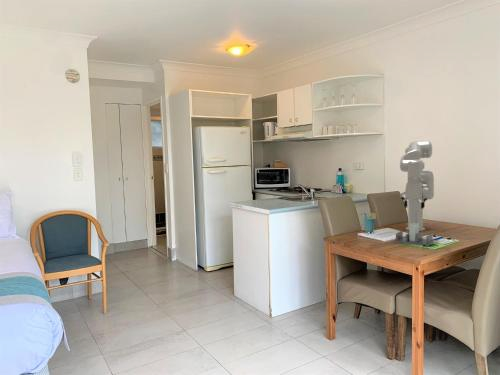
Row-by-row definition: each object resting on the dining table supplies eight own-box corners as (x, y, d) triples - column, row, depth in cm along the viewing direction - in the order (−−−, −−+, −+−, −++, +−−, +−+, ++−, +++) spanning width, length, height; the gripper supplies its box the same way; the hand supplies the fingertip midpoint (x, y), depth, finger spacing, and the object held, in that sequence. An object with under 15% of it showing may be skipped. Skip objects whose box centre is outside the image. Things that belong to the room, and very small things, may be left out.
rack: (400, 238, 254) (400, 230, 254) (433, 241, 242) (433, 233, 241) (394, 242, 244) (394, 233, 243) (428, 246, 232) (428, 237, 231)
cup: (365, 234, 269) (365, 213, 268) (357, 233, 276) (357, 212, 275) (379, 232, 276) (379, 211, 275) (371, 230, 283) (370, 210, 282)
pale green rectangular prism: (413, 238, 247) (413, 222, 246) (418, 238, 245) (418, 223, 244) (409, 240, 241) (409, 224, 240) (415, 241, 239) (415, 225, 238)
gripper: (430, 180, 237) (430, 207, 239) (401, 179, 248) (401, 206, 250) (427, 181, 231) (427, 209, 233) (397, 180, 242) (398, 208, 244)
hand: (414, 208), depth 241 cm, fingers open, 9 cm apart
